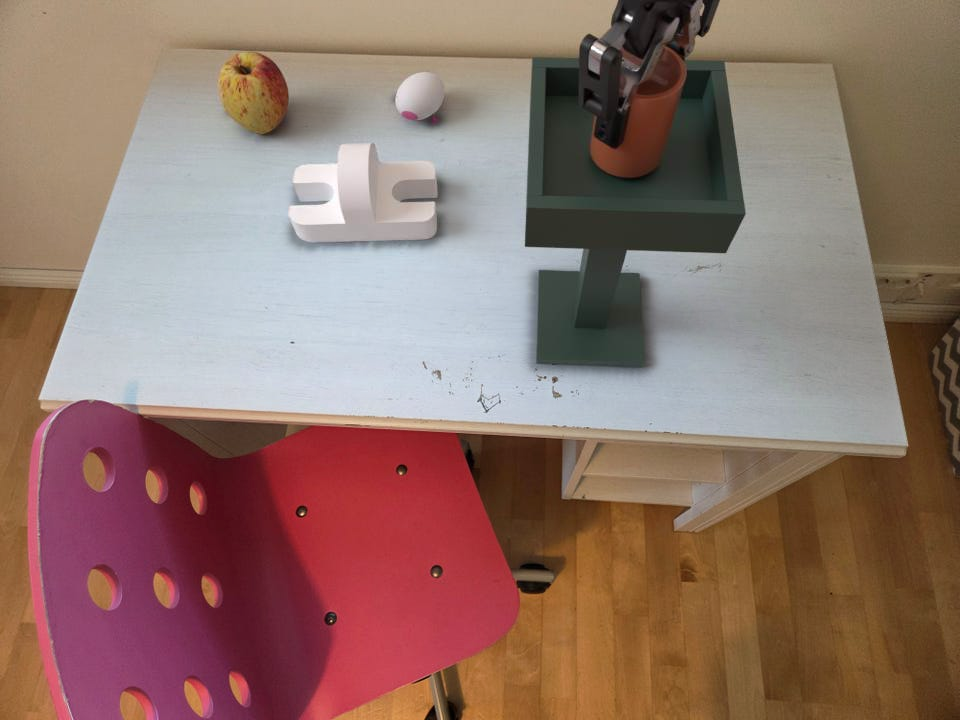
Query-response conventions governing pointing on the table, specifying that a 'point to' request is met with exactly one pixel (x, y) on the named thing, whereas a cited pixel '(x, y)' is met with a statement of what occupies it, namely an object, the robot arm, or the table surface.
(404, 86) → the white oval piece
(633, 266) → the table surface
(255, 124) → the apple
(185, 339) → the table surface
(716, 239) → the green pedestal tray
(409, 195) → the slotted bracket
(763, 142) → the table surface
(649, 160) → the cup
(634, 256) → the table surface
